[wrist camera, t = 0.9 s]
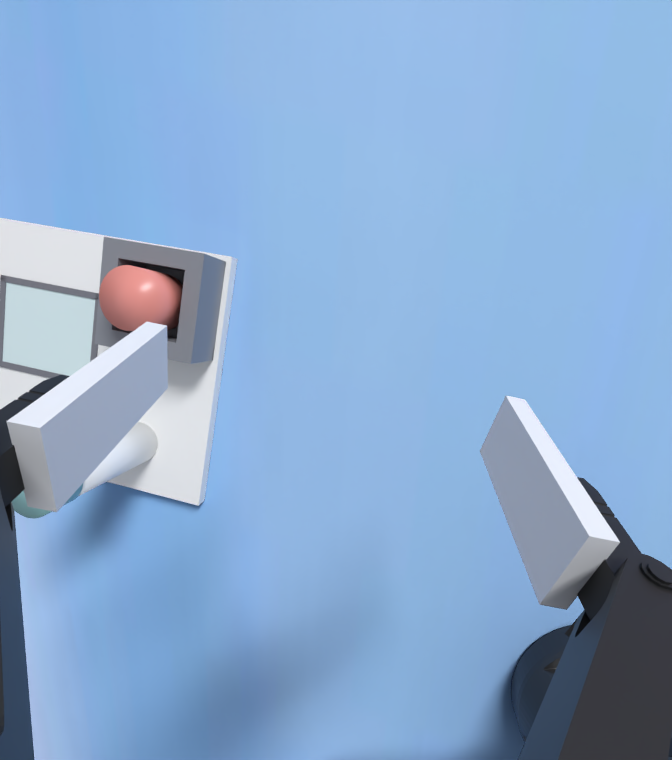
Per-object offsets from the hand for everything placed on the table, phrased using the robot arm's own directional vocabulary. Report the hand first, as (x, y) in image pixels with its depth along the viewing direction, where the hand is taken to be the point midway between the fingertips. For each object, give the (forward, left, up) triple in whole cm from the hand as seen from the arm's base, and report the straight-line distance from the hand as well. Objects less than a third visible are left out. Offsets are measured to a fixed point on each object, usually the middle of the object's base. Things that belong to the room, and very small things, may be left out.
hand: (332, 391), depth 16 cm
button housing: (+1, +19, -20) cm, 27 cm away
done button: (+1, +19, -18) cm, 26 cm away
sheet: (-6, +29, -21) cm, 36 cm away
